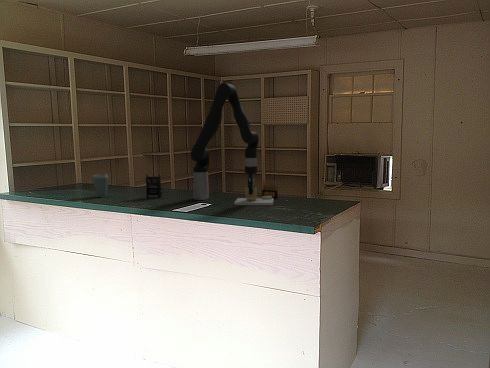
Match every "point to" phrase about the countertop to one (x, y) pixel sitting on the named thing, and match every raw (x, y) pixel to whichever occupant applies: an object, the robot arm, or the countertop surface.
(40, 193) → the countertop surface
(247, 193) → the levelling knob
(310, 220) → the countertop surface
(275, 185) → the ammunition clip
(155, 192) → the geiger counter
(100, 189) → the disposable coffee cup
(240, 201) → the base plate
